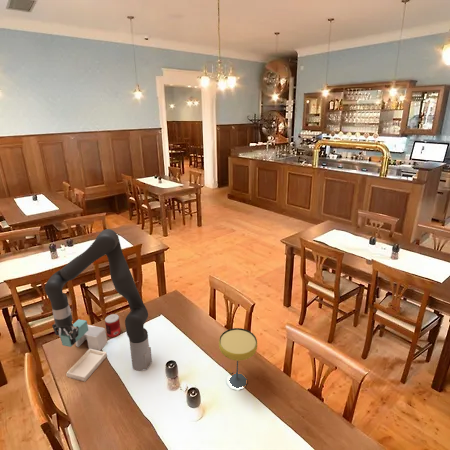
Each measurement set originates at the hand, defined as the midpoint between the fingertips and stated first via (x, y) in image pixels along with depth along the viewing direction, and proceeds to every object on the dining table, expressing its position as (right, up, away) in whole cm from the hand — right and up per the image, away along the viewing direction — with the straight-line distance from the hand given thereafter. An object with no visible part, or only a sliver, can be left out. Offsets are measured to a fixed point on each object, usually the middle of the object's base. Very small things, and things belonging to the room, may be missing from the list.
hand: (68, 342), depth 155 cm
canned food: (+11, -7, +32) cm, 34 cm away
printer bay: (+2, -10, +22) cm, 24 cm away
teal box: (+1, +1, +5) cm, 5 cm away
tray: (+6, -15, +7) cm, 18 cm away
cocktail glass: (+84, -19, -1) cm, 86 cm away
